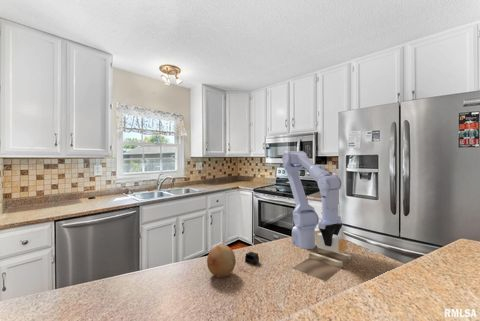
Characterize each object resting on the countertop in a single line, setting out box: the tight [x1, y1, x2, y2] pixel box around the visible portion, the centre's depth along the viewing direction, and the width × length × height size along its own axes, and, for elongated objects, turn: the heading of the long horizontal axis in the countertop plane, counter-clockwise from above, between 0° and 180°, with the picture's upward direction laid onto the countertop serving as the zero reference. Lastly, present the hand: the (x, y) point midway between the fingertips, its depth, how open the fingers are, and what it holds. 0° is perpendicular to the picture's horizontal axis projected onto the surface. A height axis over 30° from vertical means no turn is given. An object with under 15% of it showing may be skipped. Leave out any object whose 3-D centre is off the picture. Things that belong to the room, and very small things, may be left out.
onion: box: [206, 243, 237, 278], centre depth 74 cm, size 10×10×10 cm
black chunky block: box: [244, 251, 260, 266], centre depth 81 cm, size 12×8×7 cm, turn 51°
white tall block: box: [316, 231, 348, 253], centre depth 82 cm, size 10×4×5 cm, turn 44°
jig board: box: [292, 247, 353, 282], centre depth 79 cm, size 12×22×3 cm, turn 134°
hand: (330, 244), depth 82 cm, fingers closed on white tall block, 4 cm apart
